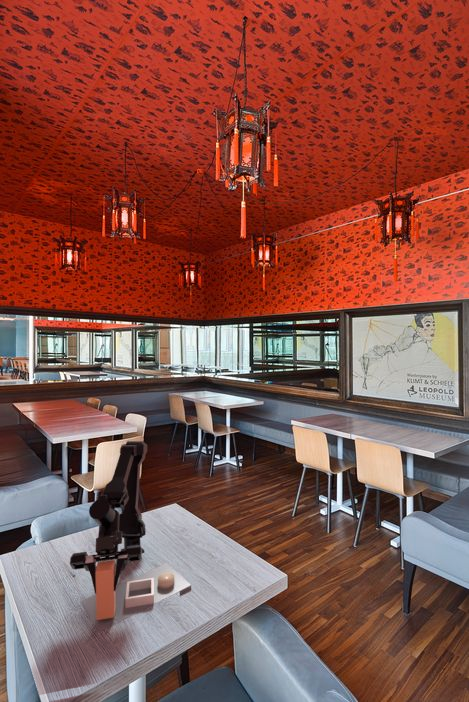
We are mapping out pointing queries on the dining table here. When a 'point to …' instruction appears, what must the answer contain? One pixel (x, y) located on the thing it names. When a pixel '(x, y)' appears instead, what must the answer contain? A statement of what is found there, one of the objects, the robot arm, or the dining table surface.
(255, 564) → the dining table surface
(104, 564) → the orange square prism
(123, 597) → the board
